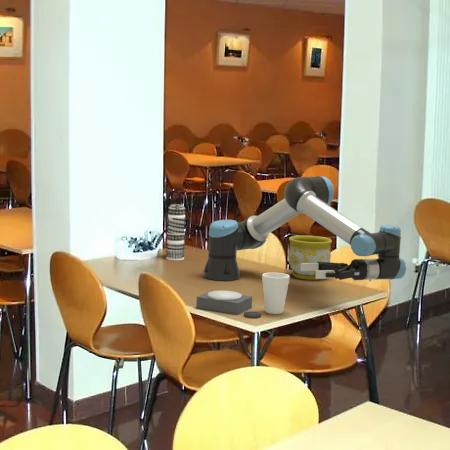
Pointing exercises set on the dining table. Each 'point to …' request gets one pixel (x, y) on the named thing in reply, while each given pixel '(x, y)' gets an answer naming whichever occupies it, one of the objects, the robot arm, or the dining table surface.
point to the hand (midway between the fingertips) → (308, 270)
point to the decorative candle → (176, 232)
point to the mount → (224, 302)
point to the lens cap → (252, 314)
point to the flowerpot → (308, 254)
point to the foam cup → (275, 291)
